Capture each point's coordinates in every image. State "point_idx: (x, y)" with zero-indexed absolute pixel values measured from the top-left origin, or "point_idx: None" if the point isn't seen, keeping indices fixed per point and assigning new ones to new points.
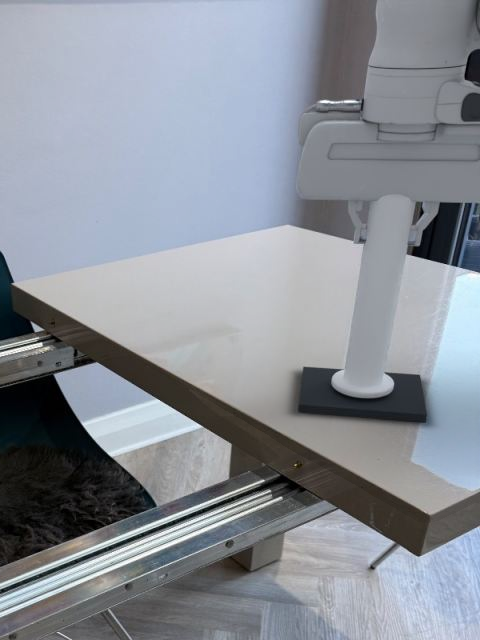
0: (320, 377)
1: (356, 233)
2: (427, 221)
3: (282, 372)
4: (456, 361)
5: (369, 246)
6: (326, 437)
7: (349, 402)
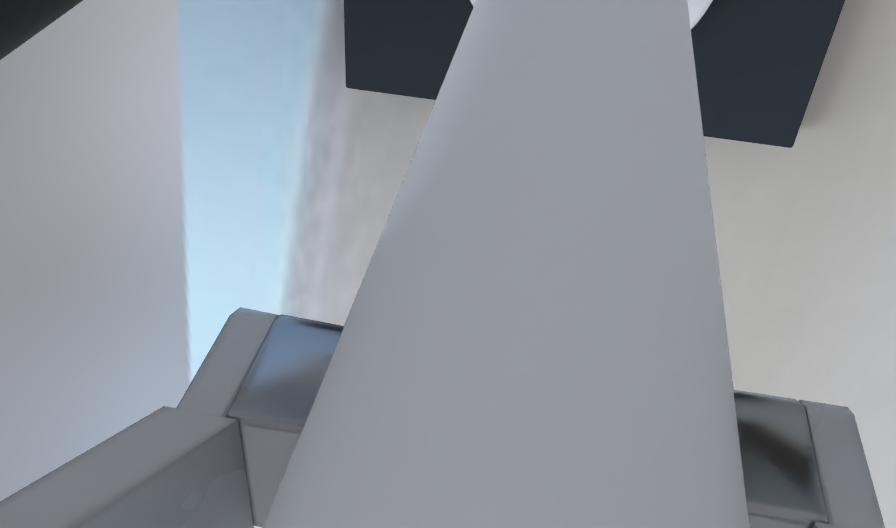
0: (746, 46)
1: (861, 476)
2: (105, 467)
3: (870, 143)
4: (229, 231)
5: (710, 323)
6: None
7: None
